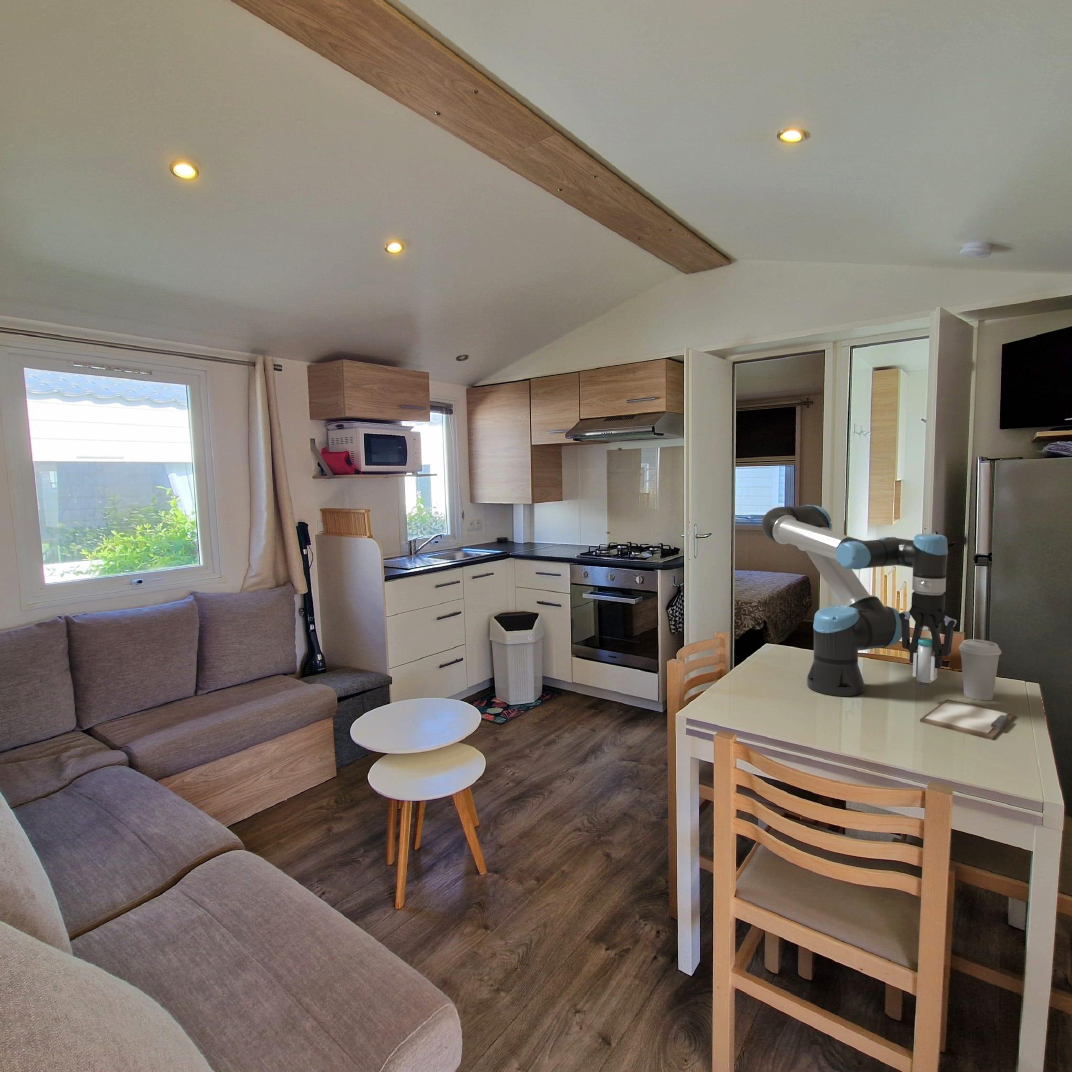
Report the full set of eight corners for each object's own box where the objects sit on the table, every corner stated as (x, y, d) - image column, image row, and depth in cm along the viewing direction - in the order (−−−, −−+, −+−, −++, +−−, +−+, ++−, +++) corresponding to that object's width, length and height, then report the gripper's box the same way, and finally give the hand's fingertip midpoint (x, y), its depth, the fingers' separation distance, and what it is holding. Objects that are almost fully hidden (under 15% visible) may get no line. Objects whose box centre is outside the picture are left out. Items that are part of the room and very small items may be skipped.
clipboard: (919, 721, 154) (920, 715, 153) (947, 701, 166) (947, 695, 166) (992, 739, 142) (992, 733, 142) (1015, 716, 155) (1015, 710, 155)
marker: (913, 684, 166) (915, 639, 165) (919, 681, 169) (921, 636, 167) (929, 688, 163) (931, 642, 162) (935, 684, 166) (937, 639, 164)
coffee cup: (1007, 703, 164) (1009, 648, 162) (967, 701, 165) (968, 647, 164) (988, 690, 173) (990, 638, 171) (950, 689, 175) (952, 638, 173)
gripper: (889, 590, 167) (886, 673, 170) (960, 599, 154) (955, 688, 157) (899, 586, 172) (896, 667, 174) (969, 594, 159) (965, 681, 162)
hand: (924, 677), depth 166 cm, fingers closed on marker, 3 cm apart
